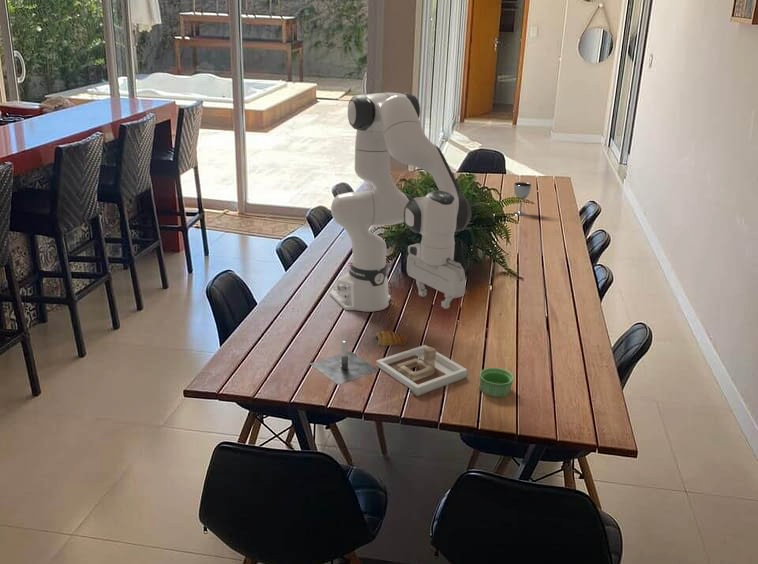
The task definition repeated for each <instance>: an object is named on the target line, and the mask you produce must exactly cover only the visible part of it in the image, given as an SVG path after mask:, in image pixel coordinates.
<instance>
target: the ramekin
mask: <svg viewBox="0 0 758 564" xmlns="http://www.w3.org/2000/svg"><path fill="white" fill-rule="evenodd" d="M479 379H480V387H479V388H480V391H481V392H482V393H483V394H486V395H487V396H490V397H494V398H500V397H501V398H502V397H506V396H508V395H510V393H511V390H512V386H513V385H512V384H513V382H514V379H515V377H514V375H513V373H511V372H510V371H509V370H507V369H504V368H499V367H488V368H484V369H482V370H481V371H480V373H479Z"/></svg>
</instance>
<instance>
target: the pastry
mask: <svg viewBox="0 0 758 564" xmlns="http://www.w3.org/2000/svg"><path fill="white" fill-rule="evenodd" d="M375 339H376V340H377V346H384V347H386V346H396V345H398V346H399V347H402V346H404V345H406V344H407V337H406V335H404V334H402V333H398V332H395V331H390V330H387V331H384V330H381V332H380V331H377V332H376V333H375Z"/></svg>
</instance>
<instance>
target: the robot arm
mask: <svg viewBox="0 0 758 564" xmlns="http://www.w3.org/2000/svg"><path fill="white" fill-rule="evenodd" d="M420 108H421V107H420V103H419V100H418V98H417V96H415V94H412V93H411V94H410V93H407V92H402V93H400V92H380V93H379V92H378V93H377V92H376V93H367V94H365V93H361V94H357V95H354V96H352V97H351V98H350V100H349V101H348V106H347V118H348V123H349V125H350V126H351V127H352V128H353V129H354V130H356V132H355V133H356V134H355V142H354V144H355V146H354V172H355V174H356V176H357V177H358V178H360V180H361V179H362V180H363V181H365V182H366V183H369V184H371V185H372V190H371V191H350V192H349V191H348V192H344V193H340V194H339V193H338V194H336V196H335V197H334V199H333V200H332V201H331V206H330V212H331V216H332V218H333V220H334V221H335V222H336V223H337V224H338V225H339V226H340V227H342V228H343V229H344V230H345V231H346V232H347V234H348V236H349V238H350V241H351V247H352V248H351V249H352V261H351V262H348V263H347V264H348V265H347V266H348V267H350V268H349V271H348V272H346V273H345V274H343V275H342V276H340V277H339V278H338V280H337V282H336V288H333V289H332V290H330V291H329V295H330V297H331V298H333V300H334V301H336V303H338V305H340V306H341V307H342V308H343V310H346V311H358V312H359V311H360V312H365V313H366V312H377V311H378V312H379V311H382V310H385V309H386V308H388V307H389V306H390V305H389V304H390V303H389V302H390V300H391V294H389V283H388V281H389V279H388V277H387V275H388V274H387V273H388V265H387V262H386V260H387V244H386V243H387V242H386V241H385V240H384V239H383V237H381V236H380V235H377V234H375V233H373V232H372V231H370V230H369V229H370V227H372V226H392V225H393V226H394V225H397V224H401V223H404V225H405V226H406V227H407V228H408V229H409V230H410V232H411V231H412V232H413V233H415V234H420V235H421V241H420V242H419V243H418V242H417V243H414V244H410V245H408V246H407V252H408V254H407V259H406V273H407V276H408V277H410V278H412V279H414V280H415V283H416V286H417V289H418V296H420V297H421V298H424V297H427V292H428V290H427V289H426V287H425V285H426V286H427V287H430V288H433V289H435V290H437V291H438V292H441V293H443V294H444V298H445V299H444V300H442V301H441V305H440V306H441V307H440V308H443V309H444V310H445V309H449V308H450V306H451V302H452V301H453V299H457V298H460V297H463V296H464V295H465V293H466V274H465V269H464V268H463V266H462V263H460V262H459V261H455V260H454V259H455V258H454V257H455V245H456V243H455V232H461V231H463V230H464V229H465V227H467V226H468V224H469V223H470V221H471V218H472V208H471V204H470V201H468V199H467V197H466V196H465V195H464V193H463V192H462V190H461V188H460V186H459V184H458V182H457V180H456V178H455V176H454V174H453V172H452V170H451V168H450V166H449V164H448V162H447V159H446V157H445V156H444V154H443V151H442V150H441V149H440V147H438V146H437V145H436V144H434V143H433V142H432V141H431V140H430V139H429V138H428V136H426V133H425V131H424V130H423V128H422V127H423V126H422V124H421V121H420V116H421V115H420V114H421V109H420ZM391 157H392V158H393V159H394V160H396V162H399V163H401V164H404V165H408V166H411V167H416V168H418V169H421V170H424V171H425V172H427V173H428V174H429V175H431V177H432V178H433V180H434V182H435V184H436V186H437V189H438V190H432V191H429V192H427V194H426V195H424V196H418V197H417V196H416V197H414V198H411V199H410V200H409V198H408V197H407V195H406V194H404V193H403V192H402V191H401V190H400V189H399V188H398V187H397V185H396V184H395V183H394V180H393V177H392V173H391Z"/></svg>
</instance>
